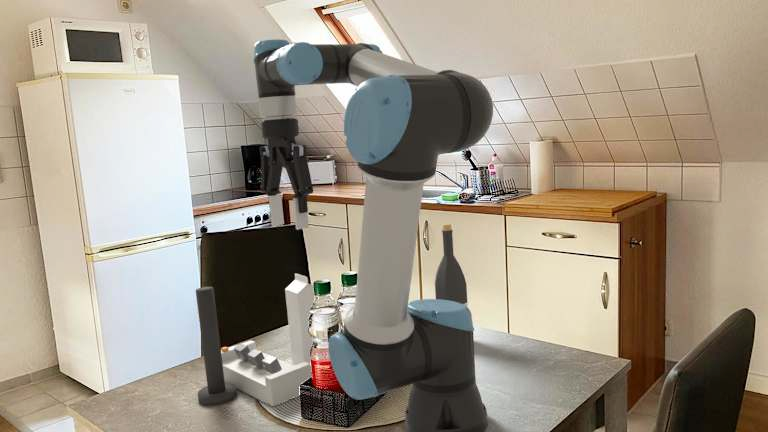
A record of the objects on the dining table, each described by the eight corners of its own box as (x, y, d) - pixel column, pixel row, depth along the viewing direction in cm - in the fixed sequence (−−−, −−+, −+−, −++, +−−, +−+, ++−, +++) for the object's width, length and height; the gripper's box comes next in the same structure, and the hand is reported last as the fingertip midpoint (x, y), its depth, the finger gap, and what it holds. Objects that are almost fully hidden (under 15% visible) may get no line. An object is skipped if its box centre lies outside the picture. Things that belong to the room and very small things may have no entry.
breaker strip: (312, 390, 137) (309, 361, 136) (273, 407, 131) (270, 376, 130) (253, 363, 155) (250, 337, 154) (216, 377, 148) (212, 350, 147)
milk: (305, 372, 147) (295, 280, 144) (292, 365, 152) (282, 275, 148) (327, 365, 151) (318, 274, 147) (314, 358, 156) (305, 270, 152)
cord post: (243, 395, 137) (231, 287, 133) (209, 409, 132) (195, 296, 128) (225, 385, 143) (212, 281, 139) (191, 398, 138) (177, 290, 134)
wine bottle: (433, 347, 157) (425, 227, 152) (443, 336, 164) (436, 221, 159) (465, 350, 153) (458, 227, 149) (474, 338, 161) (467, 221, 156)
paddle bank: (287, 373, 136) (280, 359, 135) (280, 379, 135) (273, 365, 134) (243, 354, 149) (237, 341, 148) (236, 359, 148) (230, 346, 147)
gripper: (325, 114, 126) (334, 227, 130) (266, 119, 142) (277, 220, 145) (293, 117, 121) (304, 234, 125) (236, 121, 137) (248, 225, 140)
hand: (289, 226), depth 135 cm, fingers open, 8 cm apart
